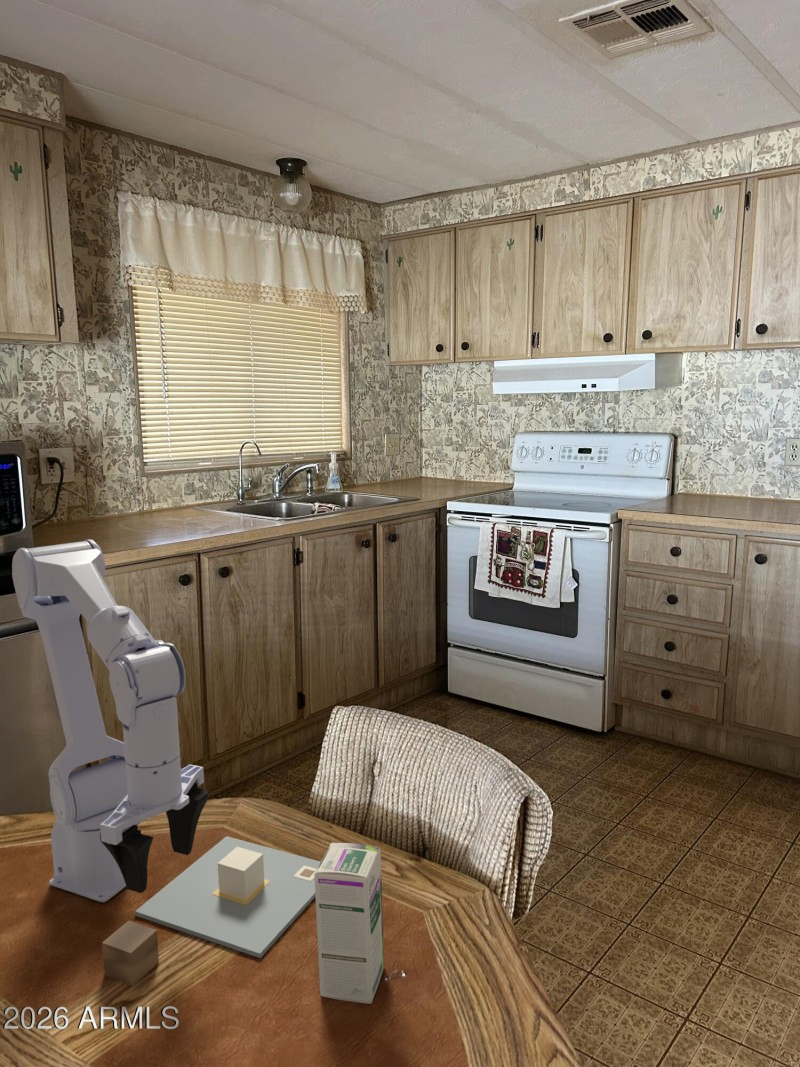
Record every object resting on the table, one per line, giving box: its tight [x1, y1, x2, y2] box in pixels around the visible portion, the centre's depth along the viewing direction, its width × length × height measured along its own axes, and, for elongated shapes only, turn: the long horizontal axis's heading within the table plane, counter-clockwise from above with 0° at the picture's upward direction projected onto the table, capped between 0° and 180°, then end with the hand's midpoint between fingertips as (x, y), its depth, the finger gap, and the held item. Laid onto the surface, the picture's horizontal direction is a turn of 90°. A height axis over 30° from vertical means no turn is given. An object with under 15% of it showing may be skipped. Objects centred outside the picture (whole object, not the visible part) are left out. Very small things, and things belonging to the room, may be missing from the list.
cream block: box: [218, 847, 264, 901], centre depth 100 cm, size 4×4×4 cm
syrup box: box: [314, 842, 385, 1005], centre depth 84 cm, size 6×6×14 cm
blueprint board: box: [134, 835, 321, 959], centre depth 100 cm, size 18×18×1 cm
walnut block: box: [101, 920, 160, 987], centre depth 87 cm, size 4×4×4 cm
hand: (160, 870), depth 89 cm, fingers open, 7 cm apart
